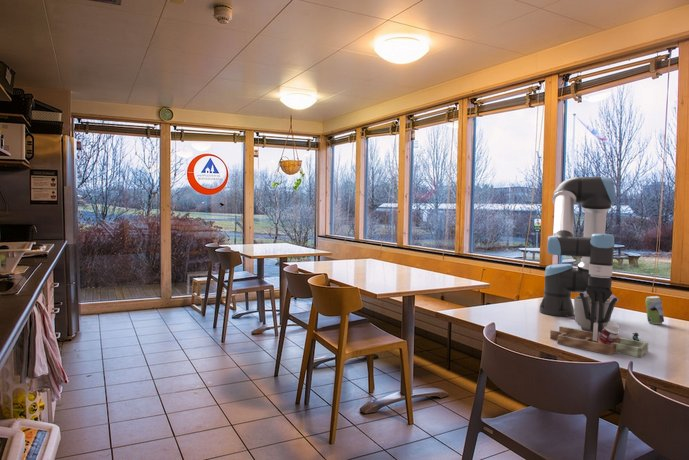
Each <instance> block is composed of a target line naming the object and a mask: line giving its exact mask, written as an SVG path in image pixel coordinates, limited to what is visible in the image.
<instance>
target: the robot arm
mask: <svg viewBox="0 0 689 460" xmlns="http://www.w3.org/2000/svg"><path fill="white" fill-rule="evenodd" d="M551 197H552V199H551V200H552V204H553V205H554V209H553V211H554V213H553V228H552V229H553V230H552V231H553V232H552V235H548V236H547V247H546V249H547V250H546V252H547V254H548V255H554V256H562V257H563V256H564V257H567V256H568V257H581V261H580V262H579V263H577V267H574V266H573V264H572V263H556V264H555V263H553V264H550V265H549V264H548V265H547V266H546V267H545V270H544V288H543V289H544V291H543V292H544V293H543V297H542V300H541V302H540V304H539V308H538V309H539V311H538V312H539V313H541V314H545V315H549V316H556V317H571V316H572V317H573V316H575V312H574V305H573V301H572V293H575V294H579V295H578V296H580V297H581V299H582V302H583V307H584V312H585V318H586V319H588V320H590V321H591V330H592V331H593V340H594V341H593V342H596V341H598V339H599V334H601V333H602V331H603V323H607V322H609V320H610V321H611V319H610V317H612V314H613V312H614V308H615V305H616V303H618V302H619V300H620V297H617V296H615V295H614V294H613V291H612V284H613V283H612V276H613V266H614V265H613V263H614V261H613V260H614V250H615V246H616V245H615V236H614V234H609V233H606V227H607V226H606V225H607V214H608V211H609V210H611V209H612V205H615V204H616V187H615V181H614V179H613V177H608V176H583V177H582V176H581V177H580V176H572V177H569V178H568V179H567V178H566V179H565V180H563V181H562V182H560V183H559V184H558V185H557V186H556V188H555V189H554V191H553V193H552V196H551ZM575 204H581V208H582V209H583V210H584V222H583V236H581V237H580V236H574V235H575V234H574V219H575V218H574V213H575V212H574V210H575V209H574V207H575ZM588 296H589V297H590V298H591V303H592V306H591V313H590V308H589V303H588V298H587V297H588ZM608 299H609V300H610V301H611V302H610V304H609V307H608V310H607V312H606V315H605V318H604V310H605V302H606V301H607V300H608ZM598 302H599V315H598V322H596V317H597V303H598Z"/></svg>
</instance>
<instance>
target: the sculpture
mask: <svg viewBox="0 0 689 460" xmlns="http://www.w3.org/2000/svg"><path fill="white" fill-rule="evenodd" d="M639 336H640V335H639V333H637V332H633V333H632V337H631V338H632V340H636V341H640V338H639Z"/></svg>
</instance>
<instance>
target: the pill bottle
mask: <svg viewBox="0 0 689 460" xmlns="http://www.w3.org/2000/svg"><path fill="white" fill-rule="evenodd" d="M620 326H621V325H619V324H618V323H616V322H614V321H611V320H610V321H609V322H608V323H607V326H605V327H604V329H603V331H602V332H600V334H601V335H600V337H599V339H598V342H597V343H601V344H606V345H611V344H613V343H614V341H615V339H616V337H618V335H619V331H620V328H621V327H620Z"/></svg>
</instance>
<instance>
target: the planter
mask: <svg viewBox="0 0 689 460" xmlns="http://www.w3.org/2000/svg"><path fill="white" fill-rule="evenodd" d="M587 298H588V303H589V308H590V313H591V306H592V303H591V298H590V297H589V295H588V297H587ZM610 302H611V301H610V298H609V299H608V300H607V301H606V302H605V310H604V318H605V315H606V312H607V310H608V307H609V304H610ZM573 303H574V305H573V307H574V320H575V322H576V324H577V325H578V326H579V327H580V328H581V330H583V331H588V332H593V331H592V330H591V321H590V320H588V319H586V318H585V312H584V307H583V302H582V299H581V297H580V295H576V296H574V300H573ZM598 315H599V302H598V303H597V317H596V322H598ZM611 317H612V316H611ZM611 317H610V320H609V321H611ZM607 323H608V322H607ZM607 323H603V329H604V327H605V326H607Z"/></svg>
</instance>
